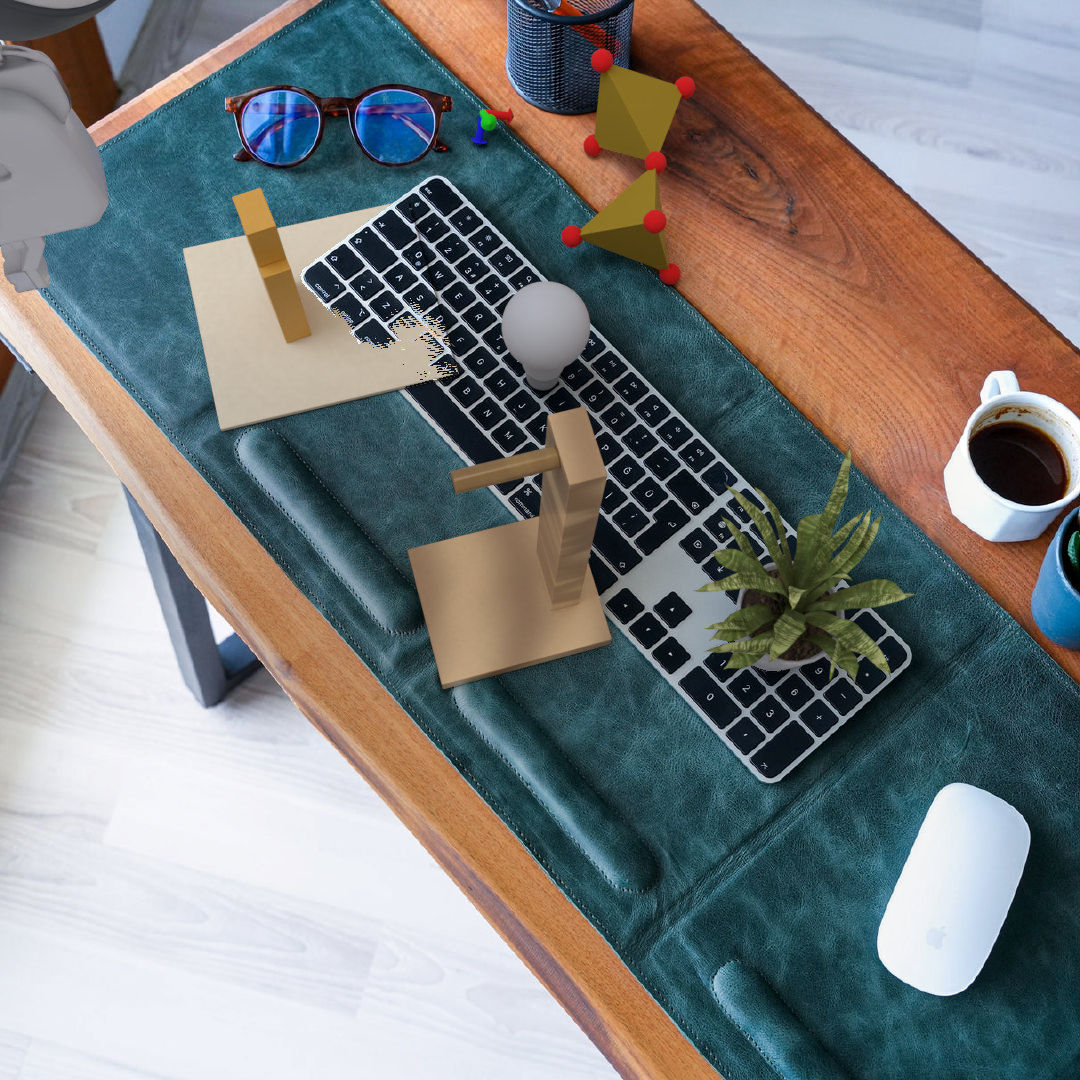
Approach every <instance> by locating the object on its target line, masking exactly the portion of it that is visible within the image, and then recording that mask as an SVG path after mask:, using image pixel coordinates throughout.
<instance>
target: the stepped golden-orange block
mask: <svg viewBox="0 0 1080 1080" xmlns="http://www.w3.org/2000/svg"><path fill="white" fill-rule="evenodd" d="M231 199H232V201H233V204H234V207H235V210H236V213H237V216H238V217H239V220H240V224H241V227H242V229H243V232H244V235H246V238H247V240H248V243H249V246H250V249H251V251H252V254H253V257H254V259H255V262H256V265H257V268H258V270H259V273H260V276H261V279H262V281H263V284H264V287H265V289H266V292H267V295H268V297H269V300H270V302H271V305H272V307H273V310H274V312H275V315H276V318H277V320H278V323H279V325H280V328H281V330H282V333H283V335H284V338H285V340H286V343H290V342H293V341H296V340H299V339H302V338H305V337H307V336H310V335H312V334H311V331H310V327H309V324H308V321H307V318H306V315H305V312H304V309H303V305H302V302H301V299H300V296H299V293H298V290H297V287H296V283H295V280H294V277H293V274H292V271H291V268H290V265H289V263H288V260H287V258H286V255H285V252H284V249H283V245H282V242H281V239H280V236H279V233H278V230H277V228H278V227H277V223H276V222H275V219H274V217H273V214H272V211H271V209H270V207H269V203H268V201H267V200H266V197H265V194H264V192H263V190H262V187H259V188H255V189H252V190H249V191H246V192H243V193H240V194H237V195H233V196H232V197H231Z"/></svg>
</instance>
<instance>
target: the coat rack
mask: <svg viewBox="0 0 1080 1080" xmlns="http://www.w3.org/2000/svg"><path fill="white" fill-rule="evenodd" d="M449 474H450V480H451V483H452V487H453V490H454V493H455V494H456V495H459V494H464V493H467V492H471V491H474V490H479V489H483V488H486V487H491V486H495V485H499V484H503V483H507V482H511V481H515V480H520V479H523V478H527V477H531V476H535V475H539V474H542V479H541V481H542V482H541V492H540V503H539V505H540V506H539V515H538V516H534V517H530V518H527V519H522V520H519V521H515V522H509V523H507V524H503V525H498V526H495V527H494V526H493V527H491V528H486V529H482V530H478V531H475V532H471V533H467V534H464V535H463V534H462V535H459V536H455V537H451V538H448V539H444V540H440V541H435V542H431V543H427V544H423V545H420V546H416V547H412V548H408V549H407V554H408V559H409V562H410V567H411V571H412V575H413V578H414V583H415V586H416V590H417V593H418V594H417V595H418V597H419V602H420V606H421V609H422V613H423V617H424V621H425V624H426V629H427V633H428V637H429V640H430V641H429V642H430V644H431V648H432V652H433V656H434V660H435V664H436V668H437V671H438V672H437V673H438V675H439V676H438V677H439V679H440V683H441V687H442V689H443V690H446V689H450V688H454V687H457V686H462V685H464V684H469V683H472V682H476V681H480V680H484V679H488V678H491V677H494V676H498V675H502V674H505V673H510V672H513V671H517V670H521V669H525V668H527V667H531V666H536V665H540V664H543V663H546V662H550V661H554V660H559V659H561V658H565V657H569V656H572V655H576V654H579V653H580V654H581V653H583V652H587V651H591V650H595V649H598V648H602V647H605V646H606V647H607V646H610V645H611V643H612V640H613V637H612V634H611V631H610V628H609V624H608V621H607V618H606V614H605V612H604V609H603V604H602V602H601V599H600V596H599V593H598V588H597V586H596V583H595V579H594V576H593V574H592V569H591V567H590V563H589V559H590V555H591V551H592V547H593V541H594V538H595V533H596V529H597V524H598V519H599V515H600V511H601V510H600V509H601V506H602V501H603V498H604V492H605V488H606V484H607V479H608V473H607V469H606V467H605V464H604V460H603V457H602V454H601V450H600V448H599V445H598V442H597V439H596V436H595V432H594V429H593V426H592V424H591V420H590V417H589V414H588V411H587V408H586V406H584V405H583V406H580V407H575V408H572V409H568V410H564V411H560V412H555V413H551V414H548V415H547V419H546V433H545V445H544V447H543V448H538V449H534V450H530V451H526V452H523V453H517V454H514V455H510V456H507V457H501V458H497V459H493V460H490V461H486V462H482V463H478V464H473V465H469V466H466V467H462V468H457V469H454V470H451V471H450V472H449Z"/></svg>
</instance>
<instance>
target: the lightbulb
mask: <svg viewBox="0 0 1080 1080" xmlns="http://www.w3.org/2000/svg"><path fill="white" fill-rule="evenodd" d="M590 334H591V319H590V314H589V311H588V309H587V306H586V304H585V302H584V301H583V300H582V298H581V297H580V295H579V294H578V293H577V292H576V291H575V290H573V289H572V288H570V287H568V286H567V285H565V284H563V283H562V284H561V283H559V282H555V281H546V280H545V281H536V282H531V283H530V284H527V285H525V286H523V287H521V289H519V290H518V291H516V293H514V295H513V296H512V297H511V298H510V300H509V301H508V302H507V304H506V306H505V309H504V311H503V315H502V317H501V335H502V339H503V341H504V344H505V346H506V348H507V350H508V352H509V353H510V355H511V356H512V357H513V358H514V359H515V360H516V361H517V362H519V363H520V364H522V368H523V370H524V372H525V378H526V381H527V383H528V384H529V386H530V387H531V388H533V389H535V390H538V391H547V390H548V391H549V390H551V389H552V388H554V387H555V386H557V384H558V382H559V379H560V376H561V373H562V372H563V370H564V368H565V367H567V366H569V365H571V364H572V363H573V362H574V361H576V360H578V358H579V357H580V356H581V354H582V353H583V351H584V350H585V348H586V346H587V344H588V342H589V338H590Z"/></svg>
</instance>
